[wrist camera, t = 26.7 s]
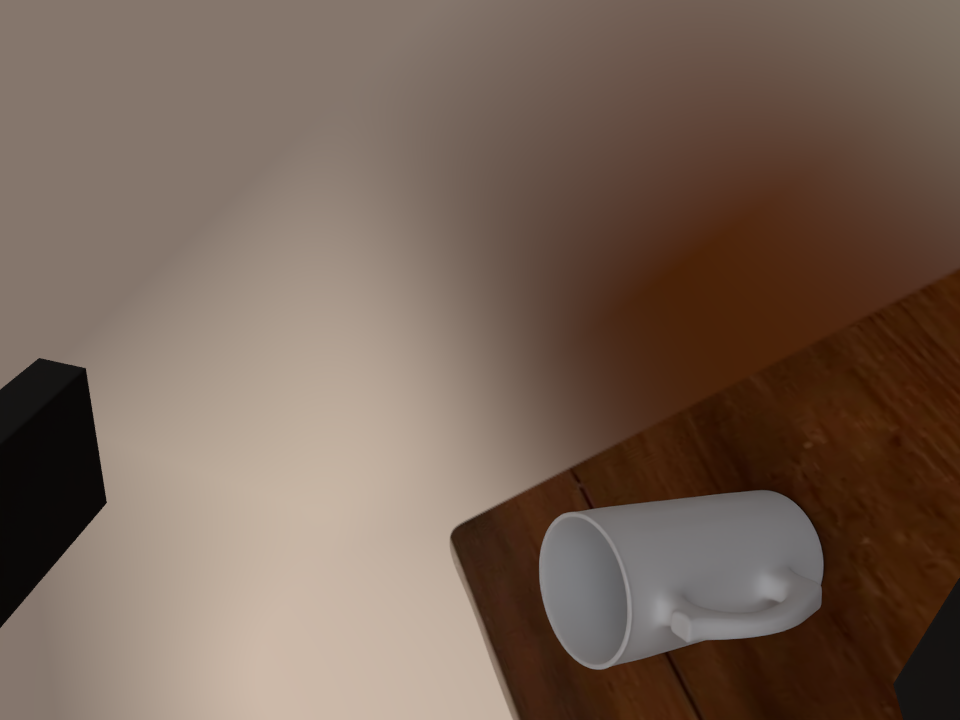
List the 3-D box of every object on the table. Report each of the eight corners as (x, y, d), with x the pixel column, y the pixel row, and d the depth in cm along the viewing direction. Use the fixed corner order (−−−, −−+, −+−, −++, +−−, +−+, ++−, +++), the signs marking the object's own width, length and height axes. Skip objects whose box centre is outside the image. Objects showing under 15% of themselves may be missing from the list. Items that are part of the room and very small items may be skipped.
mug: (720, 591, 46) (536, 632, 40) (727, 471, 45) (541, 495, 39) (887, 670, 37) (682, 738, 31) (899, 523, 36) (692, 564, 30)
